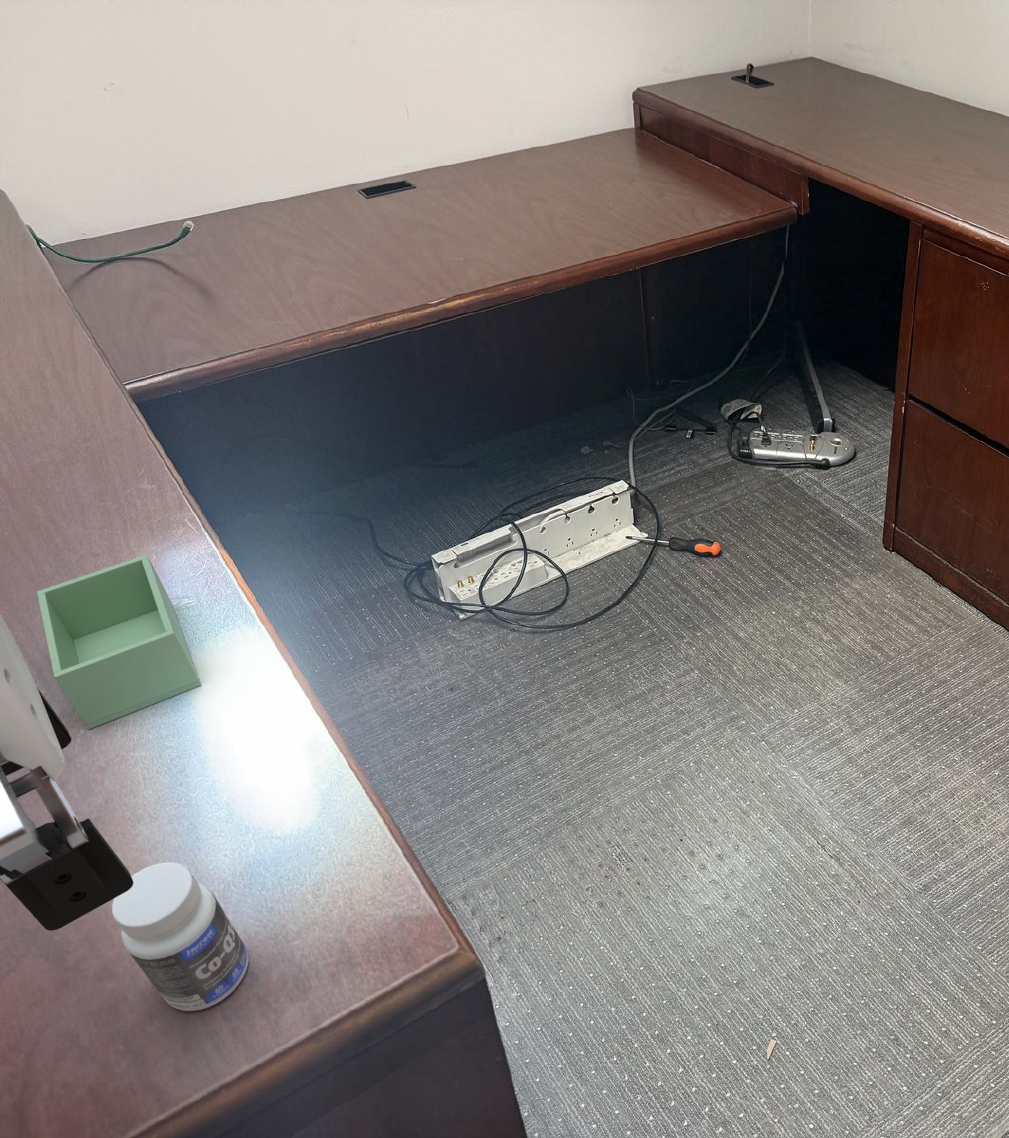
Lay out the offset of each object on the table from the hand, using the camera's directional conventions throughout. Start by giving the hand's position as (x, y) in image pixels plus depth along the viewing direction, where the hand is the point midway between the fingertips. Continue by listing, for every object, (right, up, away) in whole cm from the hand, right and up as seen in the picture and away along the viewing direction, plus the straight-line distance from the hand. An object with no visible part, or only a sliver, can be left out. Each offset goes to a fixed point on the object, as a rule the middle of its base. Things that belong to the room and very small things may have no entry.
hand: (61, 826), depth 44 cm
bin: (-19, +3, +37) cm, 42 cm away
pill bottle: (-3, -13, +17) cm, 21 cm away
